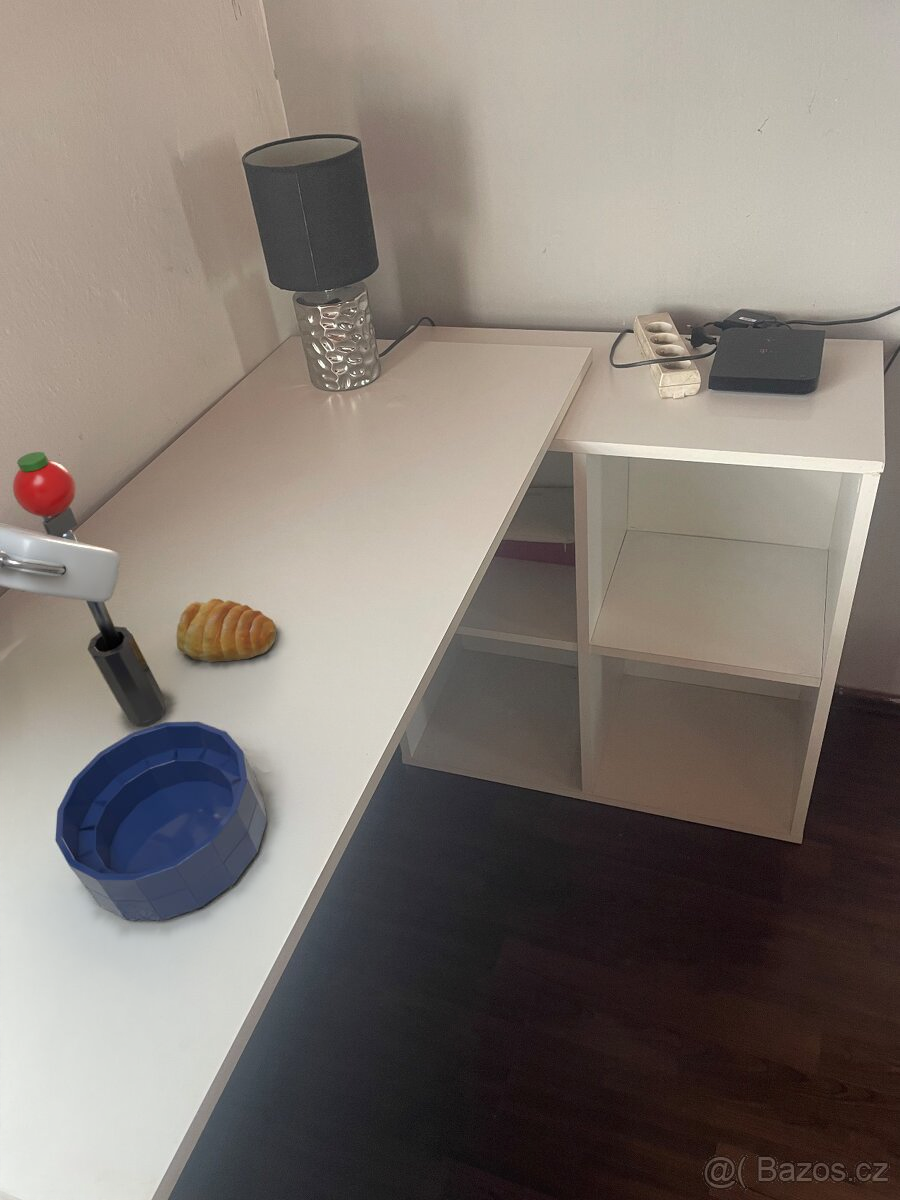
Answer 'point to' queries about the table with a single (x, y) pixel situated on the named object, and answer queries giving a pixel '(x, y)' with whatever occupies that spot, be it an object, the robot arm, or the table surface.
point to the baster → (56, 515)
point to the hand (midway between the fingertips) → (76, 561)
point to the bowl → (162, 820)
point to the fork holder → (129, 678)
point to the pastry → (224, 631)
